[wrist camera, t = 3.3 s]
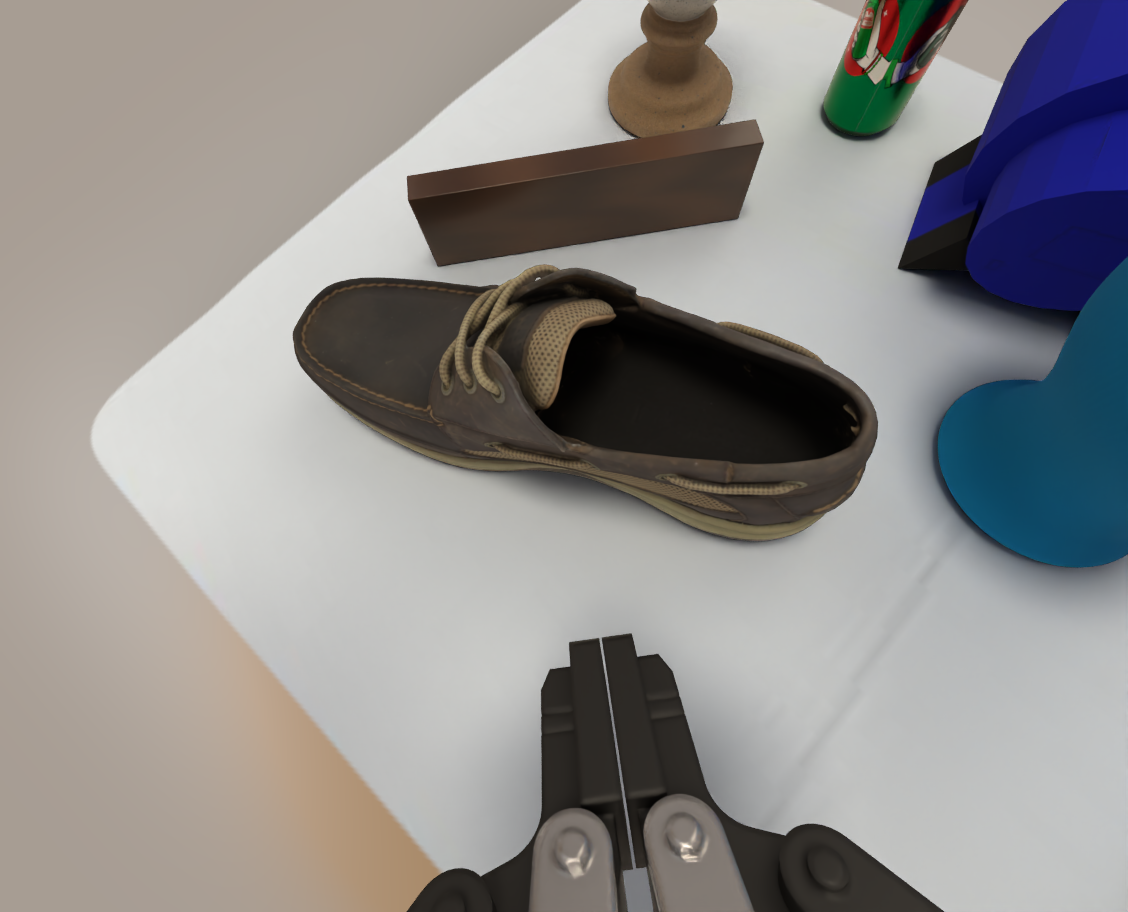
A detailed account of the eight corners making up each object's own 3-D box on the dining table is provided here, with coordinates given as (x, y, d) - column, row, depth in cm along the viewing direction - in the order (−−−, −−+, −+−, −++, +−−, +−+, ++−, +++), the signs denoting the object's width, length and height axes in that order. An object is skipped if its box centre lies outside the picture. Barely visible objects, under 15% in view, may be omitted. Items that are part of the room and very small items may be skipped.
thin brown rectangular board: (731, 197, 33) (756, 118, 28) (738, 218, 33) (764, 142, 28) (436, 244, 34) (406, 175, 29) (437, 266, 33) (407, 200, 28)
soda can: (901, 95, 35) (1046, -156, 24) (888, 148, 34) (1035, -93, 22) (828, 81, 36) (933, -167, 25) (812, 132, 35) (916, -107, 23)
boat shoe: (374, 285, 33) (275, 136, 23) (836, 378, 29) (966, 245, 19) (306, 435, 30) (155, 339, 20) (813, 565, 26) (953, 527, 15)
